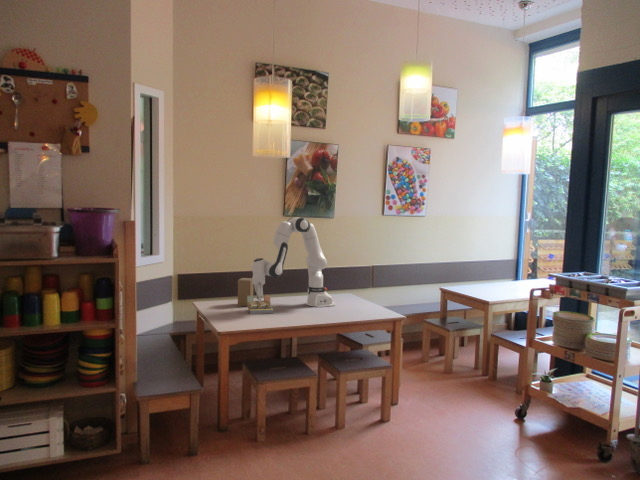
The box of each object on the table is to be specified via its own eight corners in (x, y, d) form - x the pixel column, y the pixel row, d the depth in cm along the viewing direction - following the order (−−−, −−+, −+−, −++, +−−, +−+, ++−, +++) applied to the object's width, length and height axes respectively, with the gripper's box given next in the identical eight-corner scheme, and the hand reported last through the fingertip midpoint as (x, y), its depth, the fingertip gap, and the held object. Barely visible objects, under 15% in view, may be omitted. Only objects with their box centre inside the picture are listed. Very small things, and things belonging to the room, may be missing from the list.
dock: (270, 309, 358) (270, 305, 358) (273, 313, 346) (273, 309, 346) (248, 310, 354) (248, 305, 354) (250, 314, 343) (250, 309, 342)
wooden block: (253, 303, 375) (253, 278, 373) (250, 306, 365) (250, 280, 363) (240, 303, 376) (241, 277, 374) (237, 306, 366) (237, 279, 364)
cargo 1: (252, 301, 350) (252, 295, 350) (253, 302, 347) (253, 296, 346) (247, 301, 349) (247, 295, 349) (247, 302, 346) (247, 296, 345)
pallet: (269, 307, 354) (269, 300, 354) (270, 308, 349) (270, 301, 348) (247, 307, 351) (247, 300, 350) (247, 309, 345) (247, 302, 345)
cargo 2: (269, 300, 353) (269, 295, 353) (270, 301, 349) (270, 296, 349) (263, 300, 352) (264, 295, 352) (264, 301, 349) (264, 296, 348)
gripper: (265, 283, 338) (265, 303, 340) (261, 278, 358) (261, 297, 360) (255, 284, 337) (256, 303, 338) (252, 278, 357) (253, 297, 358)
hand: (258, 300), depth 349 cm, fingers open, 8 cm apart
